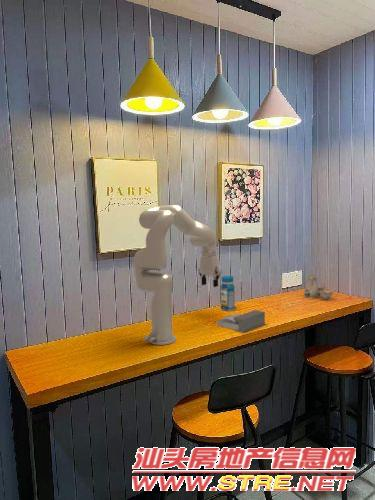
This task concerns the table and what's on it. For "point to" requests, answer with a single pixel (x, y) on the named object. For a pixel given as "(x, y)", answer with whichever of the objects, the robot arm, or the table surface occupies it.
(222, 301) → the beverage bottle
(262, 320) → the steel lip bracket
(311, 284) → the chinaware
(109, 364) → the table surface
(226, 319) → the stone block
